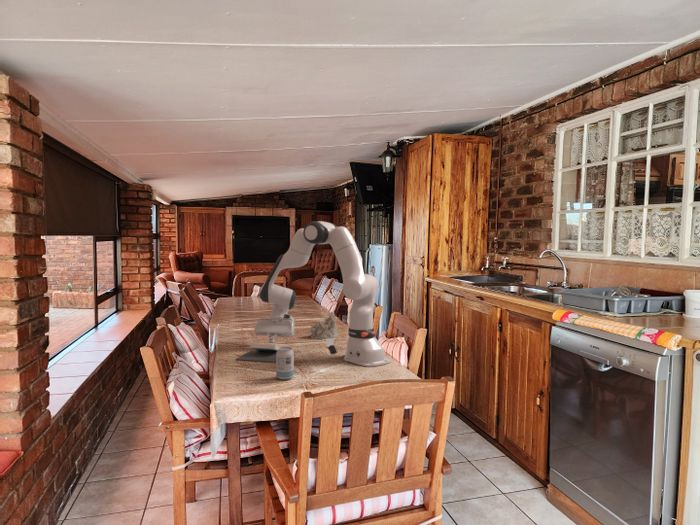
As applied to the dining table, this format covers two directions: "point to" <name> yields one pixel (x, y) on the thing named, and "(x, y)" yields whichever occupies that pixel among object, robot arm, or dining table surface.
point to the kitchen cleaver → (331, 345)
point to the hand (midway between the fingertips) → (270, 342)
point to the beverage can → (284, 363)
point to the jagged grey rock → (325, 329)
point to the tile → (265, 347)
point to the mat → (259, 356)
